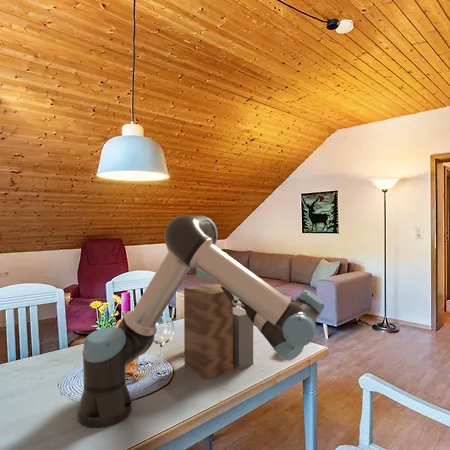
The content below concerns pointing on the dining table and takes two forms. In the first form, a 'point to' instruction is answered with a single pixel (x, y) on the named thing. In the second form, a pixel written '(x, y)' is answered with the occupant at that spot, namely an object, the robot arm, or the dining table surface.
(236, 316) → the base block
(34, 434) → the dining table surface
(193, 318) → the stand
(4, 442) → the dining table surface
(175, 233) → the robot arm
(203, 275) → the bar
